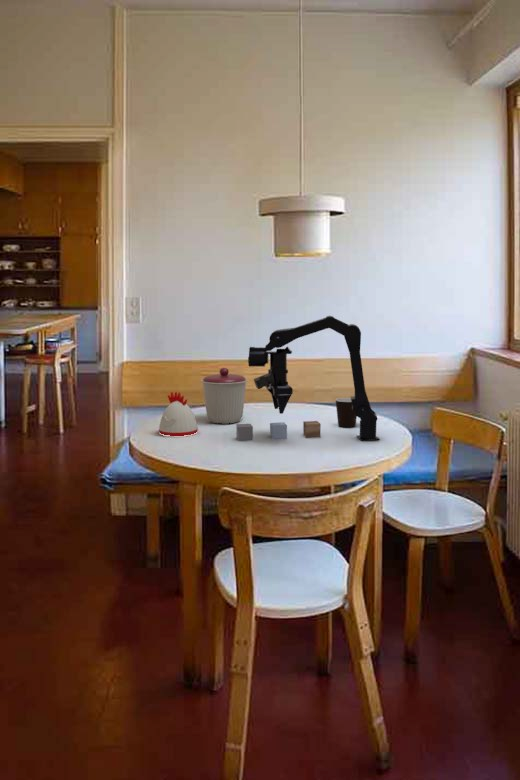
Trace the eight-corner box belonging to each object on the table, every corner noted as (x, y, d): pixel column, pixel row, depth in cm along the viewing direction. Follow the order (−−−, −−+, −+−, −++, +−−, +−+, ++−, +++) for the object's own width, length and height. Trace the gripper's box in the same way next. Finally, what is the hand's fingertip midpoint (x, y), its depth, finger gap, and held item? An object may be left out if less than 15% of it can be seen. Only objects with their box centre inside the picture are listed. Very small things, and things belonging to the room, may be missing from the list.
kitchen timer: (175, 427, 277) (174, 388, 275) (205, 431, 270) (204, 391, 268) (151, 434, 265) (150, 393, 263) (182, 438, 258) (181, 396, 256)
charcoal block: (252, 440, 255) (252, 426, 254) (238, 441, 254) (238, 427, 253) (250, 437, 260) (250, 423, 259) (236, 438, 259) (236, 424, 258)
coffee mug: (351, 429, 271) (351, 402, 269) (331, 426, 276) (331, 400, 275) (366, 424, 280) (366, 398, 279) (346, 421, 285) (347, 396, 284)
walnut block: (320, 437, 259) (320, 423, 258) (306, 438, 258) (306, 424, 257) (316, 434, 263) (317, 420, 263) (303, 435, 263) (303, 421, 262)
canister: (247, 416, 297) (247, 364, 293) (248, 426, 279) (248, 370, 275) (202, 417, 296) (201, 365, 293) (200, 426, 278) (199, 371, 275)
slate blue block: (286, 439, 257) (286, 425, 256) (272, 439, 256) (272, 425, 255) (284, 436, 262) (283, 422, 261) (270, 436, 261) (270, 422, 260)
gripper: (251, 364, 262) (251, 407, 265) (259, 370, 244) (260, 417, 247) (281, 363, 264) (282, 406, 267) (292, 369, 246) (292, 415, 249)
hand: (278, 411), depth 257 cm, fingers open, 9 cm apart
